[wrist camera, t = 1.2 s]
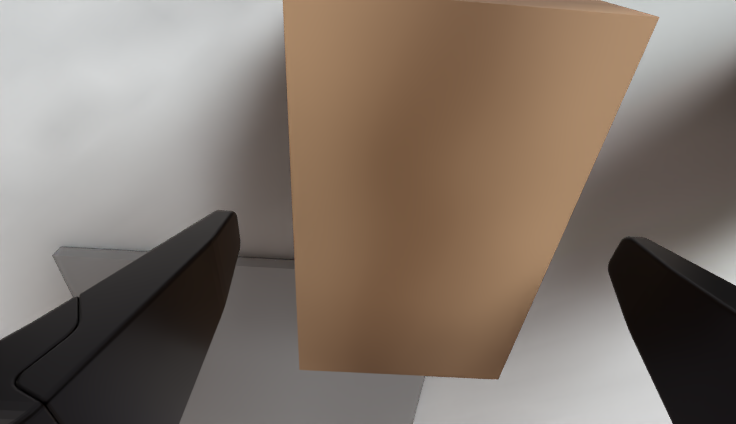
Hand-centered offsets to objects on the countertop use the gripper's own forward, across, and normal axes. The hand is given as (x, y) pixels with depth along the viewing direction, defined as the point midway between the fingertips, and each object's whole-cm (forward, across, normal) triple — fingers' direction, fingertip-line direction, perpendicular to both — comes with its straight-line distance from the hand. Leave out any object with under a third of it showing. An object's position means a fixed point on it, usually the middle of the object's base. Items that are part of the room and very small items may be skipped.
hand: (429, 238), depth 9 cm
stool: (+7, 0, 0) cm, 7 cm away
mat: (+7, +6, +15) cm, 18 cm away
